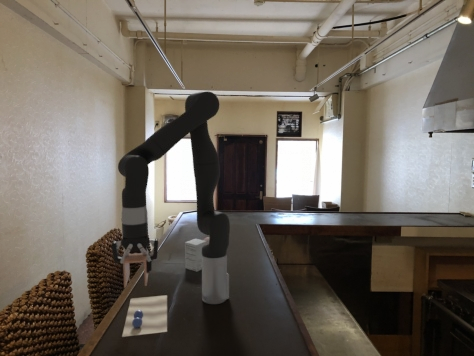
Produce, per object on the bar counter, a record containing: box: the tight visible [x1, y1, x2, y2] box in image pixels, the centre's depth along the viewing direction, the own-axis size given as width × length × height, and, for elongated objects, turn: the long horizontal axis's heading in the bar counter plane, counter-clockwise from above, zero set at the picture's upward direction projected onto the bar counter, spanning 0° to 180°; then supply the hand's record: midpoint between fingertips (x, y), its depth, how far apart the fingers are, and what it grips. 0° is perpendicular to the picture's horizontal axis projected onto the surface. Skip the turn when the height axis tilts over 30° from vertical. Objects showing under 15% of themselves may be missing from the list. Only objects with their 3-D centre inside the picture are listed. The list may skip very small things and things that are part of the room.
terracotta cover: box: [123, 253, 149, 289], centre depth 100 cm, size 10×6×8 cm, turn 12°
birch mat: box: [121, 295, 168, 338], centre depth 108 cm, size 24×13×1 cm, turn 12°
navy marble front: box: [132, 317, 142, 328], centre depth 100 cm, size 3×3×3 cm
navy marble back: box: [134, 310, 143, 319], centre depth 104 cm, size 3×3×3 cm
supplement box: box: [184, 238, 207, 272], centre depth 150 cm, size 7×7×13 cm
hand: (136, 272), depth 101 cm, fingers closed on terracotta cover, 6 cm apart
